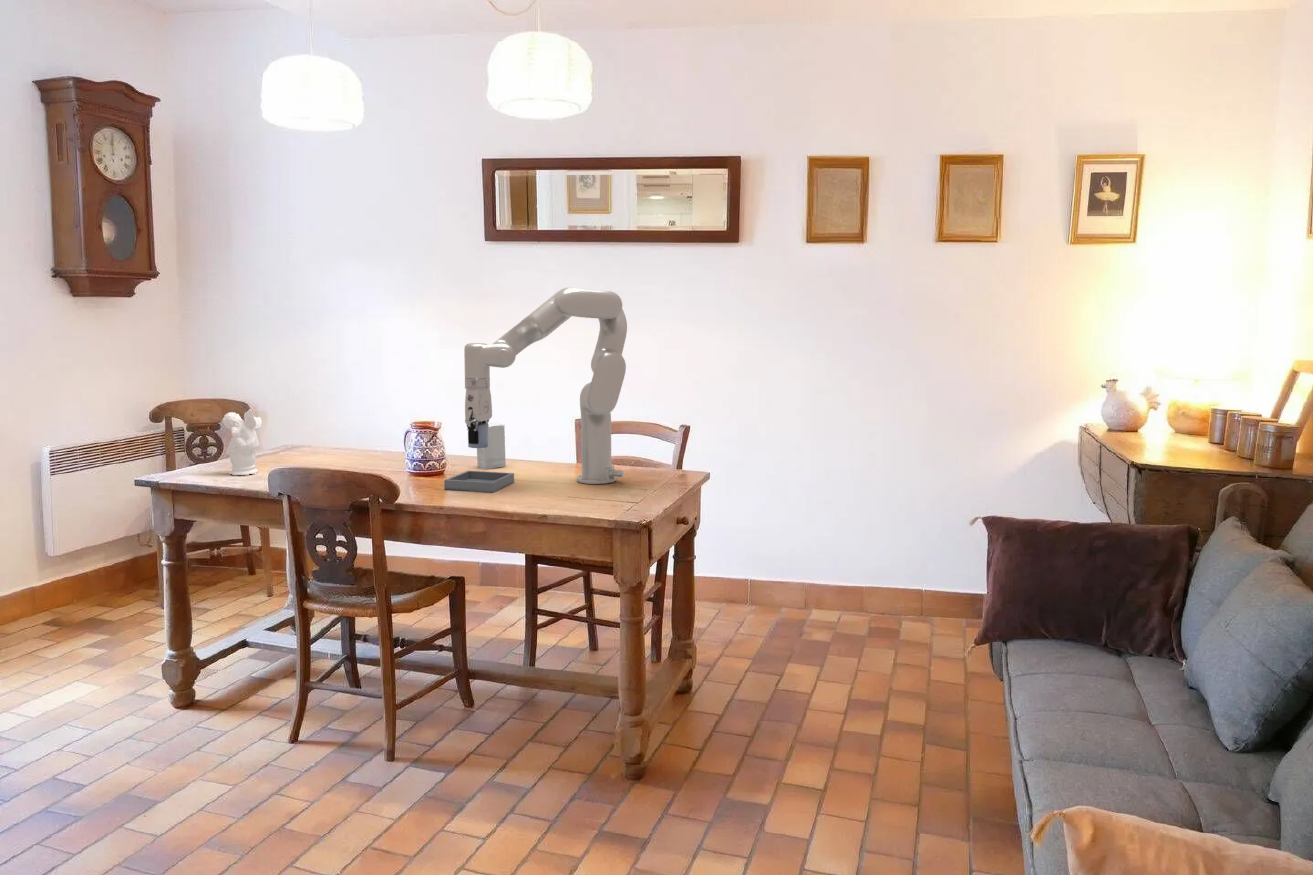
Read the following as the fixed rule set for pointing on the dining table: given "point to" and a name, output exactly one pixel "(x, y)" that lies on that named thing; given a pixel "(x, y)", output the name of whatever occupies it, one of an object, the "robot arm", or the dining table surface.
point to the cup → (481, 436)
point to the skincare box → (493, 448)
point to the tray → (479, 481)
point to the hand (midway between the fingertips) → (478, 441)
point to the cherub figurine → (242, 442)
